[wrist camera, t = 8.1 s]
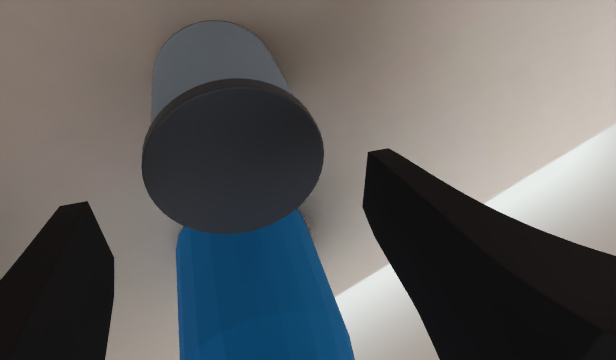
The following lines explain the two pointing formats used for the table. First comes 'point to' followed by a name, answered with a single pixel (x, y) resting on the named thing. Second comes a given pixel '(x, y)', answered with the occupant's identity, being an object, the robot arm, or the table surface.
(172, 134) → the plastic tub
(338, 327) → the bottle
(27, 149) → the table surface
